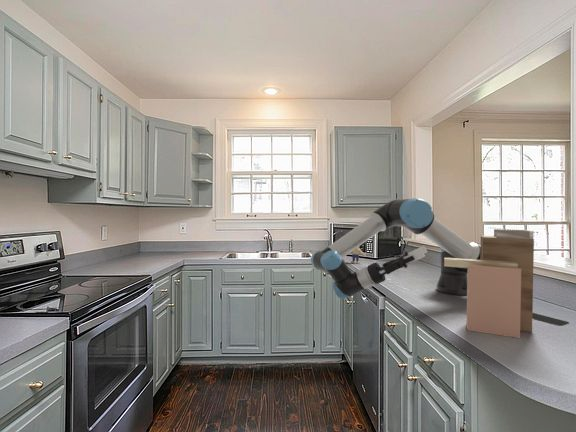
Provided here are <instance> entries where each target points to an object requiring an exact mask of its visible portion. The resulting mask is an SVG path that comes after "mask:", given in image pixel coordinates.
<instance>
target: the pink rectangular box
mask: <svg viewBox="0 0 576 432" xmlns="http://www.w3.org/2000/svg"><path fill="white" fill-rule="evenodd" d="M520 311H521V269H518V268H504V267H491V266H477V265H469V268H468V271H467V295H466V328H467V331H471V332H478V333H485V334H491V335H498V336H502V337H503V336H505V337H510V338H515V339H516V338H518V339H521V330H520Z"/></svg>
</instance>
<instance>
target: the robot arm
mask: <svg viewBox="0 0 576 432" xmlns="http://www.w3.org/2000/svg"><path fill="white" fill-rule="evenodd" d="M432 208H433V207H432V205H431V204H429V202H428V201H426V200H425V199H422V198H416V197H415V198H414V197H413V198H403V199H394V200H389V202H386V203H385V204H382V205H381V206H380V207H378V208H377V209H376V210H375V211H373V212H372V213H370V215H369V217H368V218H367V219H366V220H364V221H362V222H361V223H359V224H358V225H357V226H356V227H354V228H353V229H351V230H350V231H348V232H346V233H345V234H344V235H343V236H341V237H340V238H339V239H337V240H335V241H334V242H332V244H330V245H329V246H327V247H326V248H324V249H322V250H319V251H315V252H314V253H312V254H311V256H310V257H311V258H310V263H311V265H312V266H313V267H314V268H315V269H317V270H319V271H322V272H323V273H326V274H328V275H329V276H330V278H332V280H333V281H334V282H333V284H332V288H333V291H334V293H335V295H336V296H337V298H339V299H341V300H344V299H347V298H350V297H352V296H354V295H356V294H358V293H360V292H363V291H365V290H367V289H369V290H371V289H372V287H374V286H376V285H378V284H381V283H383V282H385V281H386V275H389V274H392V273H393V272H395V271H397V270H399V269H403V268H405V269H407V268H408V267H409V266H408V265H411V264H412V263H414V262H416V261H418V260H421V259H423V258H425V257H426V255H425V254H427V253H428V250H427V248H426V247H425V245H422V246H421V247H418V248H416V249H413V250H411V251H409V252H408V251H406V252H404V253H405V254H404V255H401V256H400V257H397V258H396V259H392V260H389V261H386V262H385V263H382V266H380V264H379V263H378V262H373V263H371V264H369V265H368V266H364V267H362V268H360V269H357V271H355V272H352V271H351V269H350V268H349V266H348V265H347V264H346V262H345V261H344V259H343V258H345V257H346V256H347V255H349V254H351V253H352V251H353V250H354V249H356V248H357V247H359V248H360V246H361V245H363V244H364V243H366V242H367V241H369V240H370V239H371V238H372V237H374V236H375V235H377V234H378V233H379V232H385V231H386V230H388V229H390V228H394V227H404V228H406V229H407V230H408V231H410V232H411V233H413V234H415V235H422V236H424V237H425V238H427V239H428V240H429V241H431V242H433V244H435V245H437V246H438V247H439V248H440V275H439V278H438V280H437V283H436V290H437V292H440V293H444V294H448V295H456V296H457V295H458V296H459V295H460V296H467V271H468V268H460V267H447V266H444V258H460V259H475V260H480V250H481V245H479V244H477V243H475V242H472V241H471V242H468V241H467V240H465V239H464V238H462V236H460V235H459V234H457V233H456V232H455V231H453V230H452V229H451V228H449V227H448V226H447V225H445V224H443V223H442V222H441V221H439V220H438V219H437V218H436V215H435V213H434V210H432ZM350 252H351V253H350Z"/></svg>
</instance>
